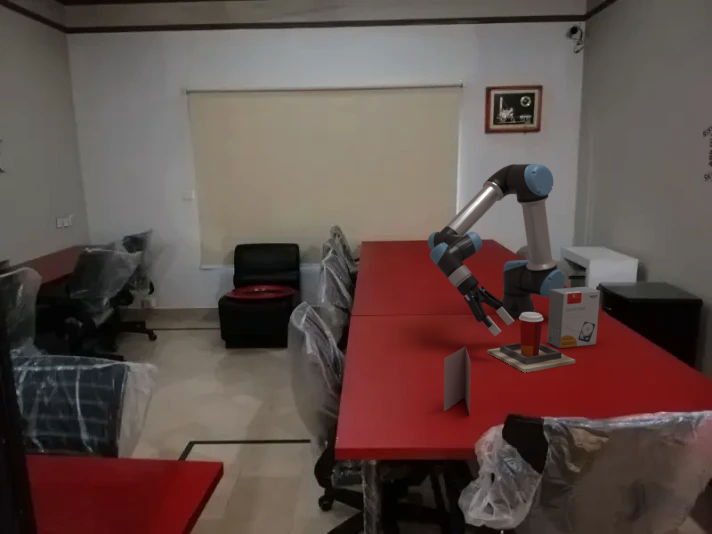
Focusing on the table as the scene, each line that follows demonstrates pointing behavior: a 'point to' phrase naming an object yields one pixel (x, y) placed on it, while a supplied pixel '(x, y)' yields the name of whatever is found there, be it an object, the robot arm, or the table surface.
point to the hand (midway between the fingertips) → (505, 328)
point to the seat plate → (528, 364)
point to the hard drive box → (573, 316)
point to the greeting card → (457, 378)
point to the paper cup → (530, 333)
